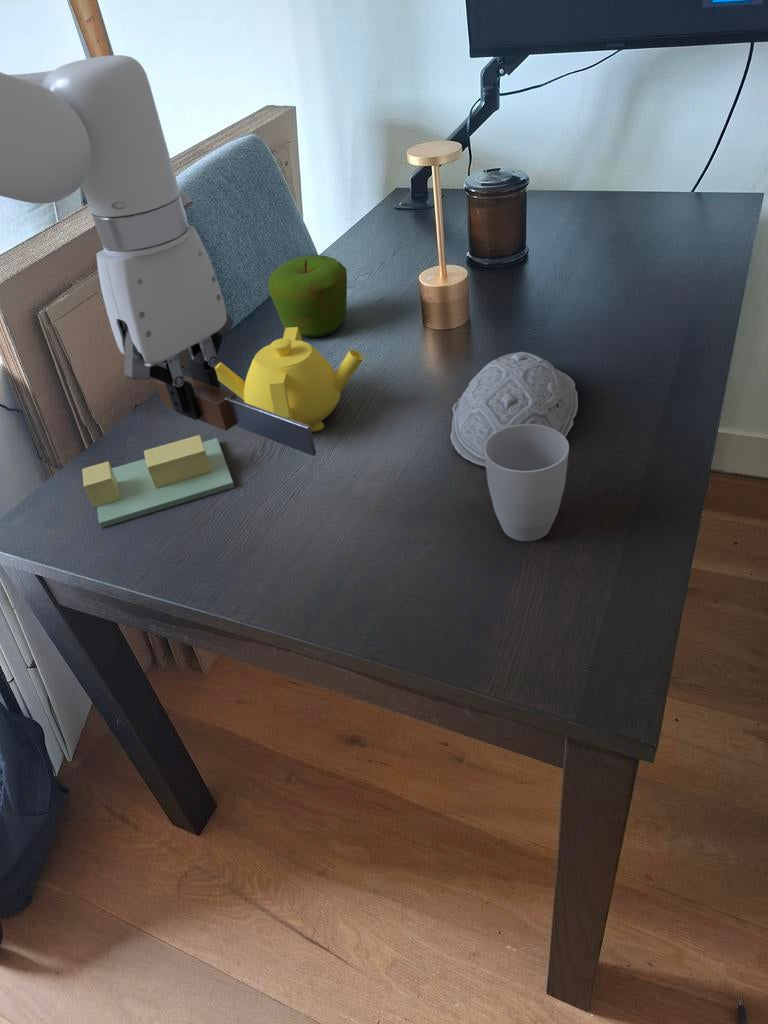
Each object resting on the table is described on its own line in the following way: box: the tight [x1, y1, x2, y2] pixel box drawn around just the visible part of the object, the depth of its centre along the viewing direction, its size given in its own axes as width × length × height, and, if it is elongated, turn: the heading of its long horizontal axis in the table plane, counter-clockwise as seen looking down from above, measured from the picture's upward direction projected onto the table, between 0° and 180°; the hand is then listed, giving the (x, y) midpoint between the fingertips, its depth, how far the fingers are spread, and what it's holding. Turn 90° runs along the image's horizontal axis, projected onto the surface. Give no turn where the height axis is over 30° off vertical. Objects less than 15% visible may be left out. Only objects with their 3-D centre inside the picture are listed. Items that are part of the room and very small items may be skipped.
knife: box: [154, 375, 317, 457], centre depth 73 cm, size 21×2×3 cm, turn 51°
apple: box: [268, 254, 348, 338], centre depth 119 cm, size 12×12×11 cm
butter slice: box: [81, 460, 120, 508], centre depth 91 cm, size 3×4×3 cm
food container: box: [449, 351, 579, 468], centre depth 95 cm, size 16×25×7 cm, turn 163°
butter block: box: [143, 434, 211, 488], centre depth 93 cm, size 7×4×3 cm, turn 110°
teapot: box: [215, 327, 365, 432], centre depth 99 cm, size 20×18×11 cm
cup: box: [484, 424, 570, 542], centre depth 76 cm, size 8×8×10 cm
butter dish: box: [96, 437, 235, 529], centre depth 94 cm, size 16×11×1 cm
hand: (200, 407), depth 76 cm, fingers closed on knife, 2 cm apart
